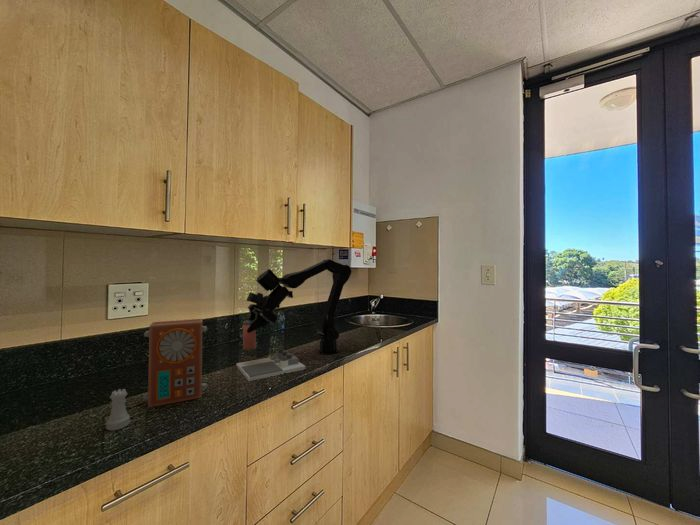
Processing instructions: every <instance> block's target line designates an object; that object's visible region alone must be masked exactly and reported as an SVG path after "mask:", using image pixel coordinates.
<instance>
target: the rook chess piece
mask: <svg viewBox="0 0 700 525" xmlns="http://www.w3.org/2000/svg"><path fill="white" fill-rule="evenodd" d="M127 395H128V392H127V390H126V389H125V388H122V389H121V388H118V389H117V390H116V389H115V390H113V391H112V392H111V395H110V396H109V399H111V402H110V404H111V411H110V415H109V416H108V419H107V420H106V423H105V424H106V426H105V429H106V430H108V431H111V432H113V431H119V430H122V429H124V428H126V427H127V426H128V425H129V424H130V423H131V420H130V418H131V416H130V415H129V413H128V411H127V408H126V402H127V399H126V397H127Z"/></svg>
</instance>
